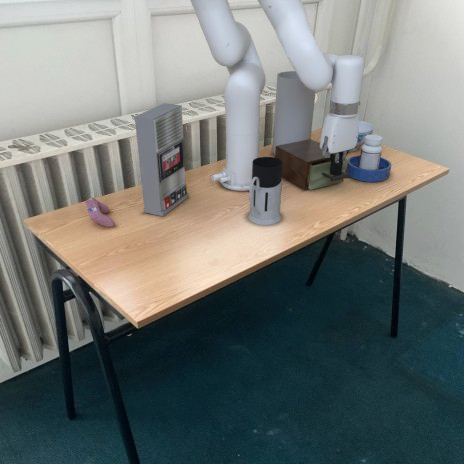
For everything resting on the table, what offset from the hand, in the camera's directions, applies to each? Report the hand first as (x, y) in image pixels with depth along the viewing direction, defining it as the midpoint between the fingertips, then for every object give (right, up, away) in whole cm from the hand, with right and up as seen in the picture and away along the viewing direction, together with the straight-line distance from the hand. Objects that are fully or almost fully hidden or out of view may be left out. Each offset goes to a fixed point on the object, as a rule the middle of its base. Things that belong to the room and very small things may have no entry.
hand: (335, 174), depth 140 cm
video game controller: (-64, -16, -13) cm, 67 cm away
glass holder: (-22, -16, -13) cm, 30 cm away
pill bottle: (+13, +4, +13) cm, 19 cm away
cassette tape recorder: (-48, -10, -5) cm, 49 cm away
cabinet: (-7, +2, +11) cm, 13 cm away
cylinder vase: (-10, +15, +28) cm, 33 cm away
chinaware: (+12, +19, +33) cm, 40 cm away
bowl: (+13, +4, +13) cm, 19 cm away
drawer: (-4, 0, +7) cm, 8 cm away
